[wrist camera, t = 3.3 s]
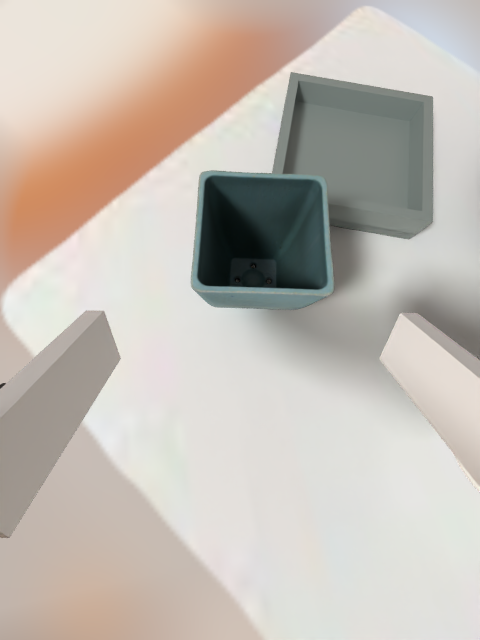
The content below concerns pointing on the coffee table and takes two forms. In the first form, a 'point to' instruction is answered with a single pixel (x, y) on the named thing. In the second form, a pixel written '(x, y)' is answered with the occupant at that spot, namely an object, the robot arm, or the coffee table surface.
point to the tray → (361, 152)
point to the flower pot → (262, 240)
